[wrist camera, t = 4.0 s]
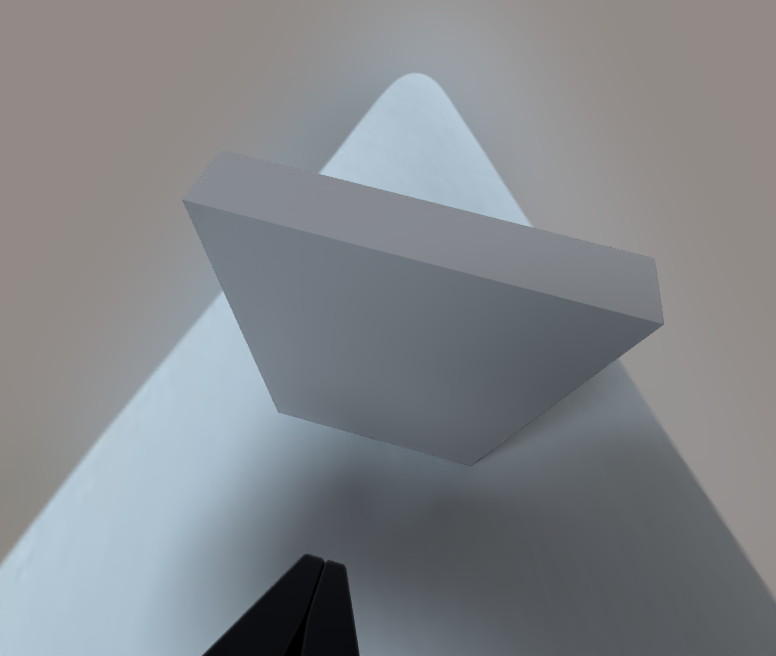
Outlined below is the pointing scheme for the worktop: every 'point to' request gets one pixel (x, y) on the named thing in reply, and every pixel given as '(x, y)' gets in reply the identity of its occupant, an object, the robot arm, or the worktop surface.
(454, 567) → the worktop surface
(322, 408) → the tile
